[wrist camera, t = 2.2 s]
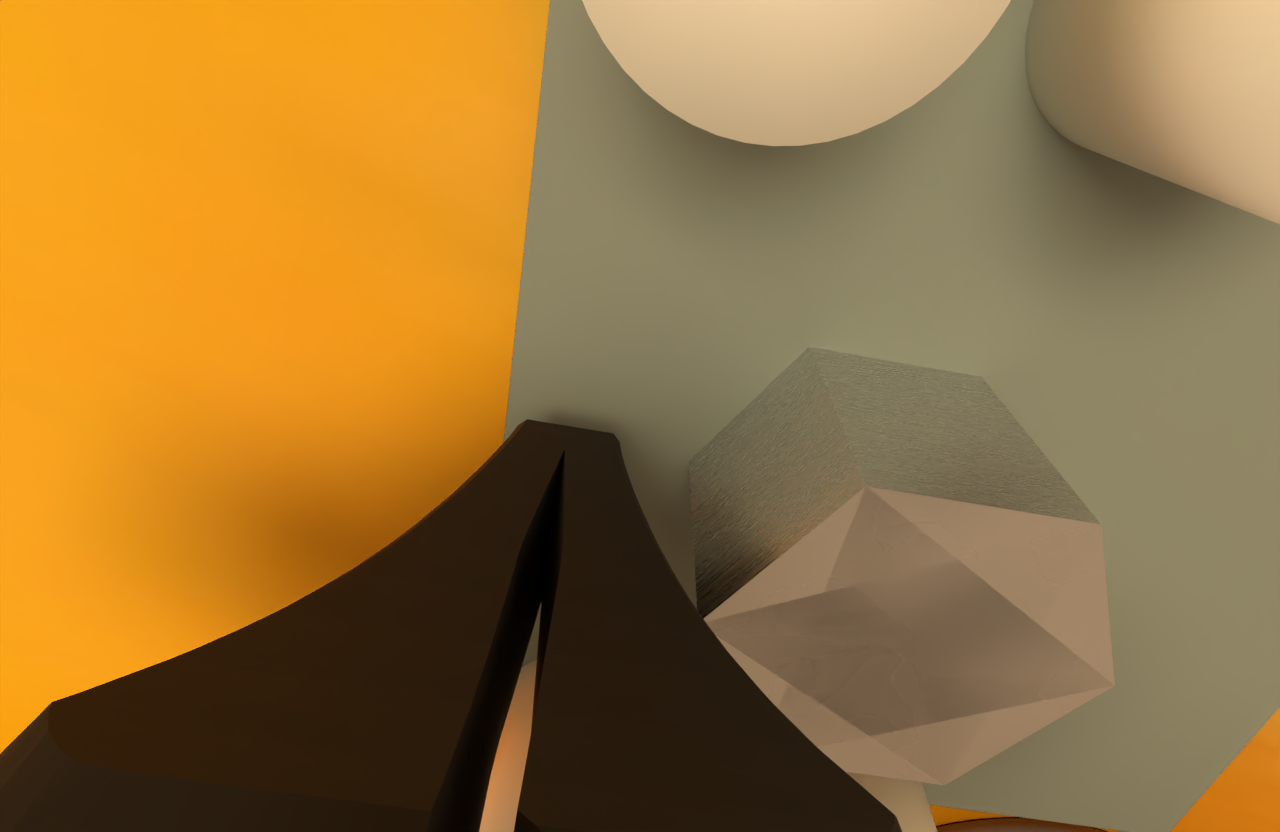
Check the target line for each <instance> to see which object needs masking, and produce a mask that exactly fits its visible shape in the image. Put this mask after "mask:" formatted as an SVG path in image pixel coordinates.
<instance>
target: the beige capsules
mask: <svg viewBox="0 0 1280 832" xmlns="http://www.w3.org/2000/svg"><path fill="white" fill-rule="evenodd" d="M582 1H583V4H584V6H585V9H586V11H587V13H588V16H589V17H590V19H591V21H592V23H593V25H594V26H595V28H596V30H597V32H598V33H599V35H600V37H601V39H602V41H603V42H604V44H605V46H606V47H607V48H608V50H609V51H610V52H611V54H612V55H613V56H614V58H615V59H616V60H617V62H618V63H619V64H620V66H621V67H622V69H623V70H624V71H625V72H626V73H627V74H628V75H629V76H630V77H631V78H632V79H633V80H634V81H635V82H636V83H637V84H638V86H639V87H640V88H641V89H642V90H643V91H644V92H645V93H647V94H648V95H649V96H650V97H652V98H653V99H654V100H655V101H657V102H658V103H659V104H660V105H662V106H663V107H664V108H665V109H667V110H668V111H670V112H672V113H673V114H675V115H677V116H678V117H680V118H682V119H683V120H685V121H687V122H688V123H690V124H692V125H694V126H696V127H699V128H701V129H703V130H706V131H708V132H710V133H713V134H715V135H717V136H721V137H725V138H729V139H732V140H736V141H740V142H744V143H750V144H759V145H767V146H802V145H809V144H815V143H822V142H829V141H832V140H836V139H839V138H843V137H846V136H850V135H853V134H857V133H859V132H862V131H864V130H866V129H869V128H871V127H873V126H876V125H878V124H880V123H883V122H885V121H887V120H888V119H890V118H892V117H894V116H895V115H897V114H899V113H901V112H902V111H904V110H906V109H908V108H909V107H911V106H913V105H914V104H915V103H917V102H918V101H919V100H921V99H922V98H923V97H925V96H926V95H927V94H929V93H930V92H932V91H933V90H934V89H936V88H937V87H938V86H939V85H940V84H942V83H943V82H944V81H945V80H946V79H947V78H948V77H949V76H950V75H951V74H952V73H953V72H954V71H956V70H957V69H958V68H959V67H960V66H961V65H962V64H963V63H964V62H965V61H966V60H967V58H968V57H969V56H970V55H971V54H972V53H973V52H974V50H975V49H976V48H977V47H978V46H979V45H980V44H981V42H982V41H983V40H984V39H985V38H986V37H987V35H988V34H989V32H990V31H991V29H992V28H993V27H994V25H995V24H996V22H997V21H998V19H999V18H1000V17H1001V15H1002V14H1003V12H1004V11H1005V9H1006V8H1007V7H1008V5H1009V3H1010V1H1011V0H582ZM1025 60H1026V71H1027V77H1028V83H1029V86H1030V89H1031V92H1032V95H1033V98H1034V101H1035V102H1036V104H1037V106H1038V108H1039V110H1040V112H1041V114H1042V115H1043V116H1044V118H1045V119H1046V120H1047V122H1048V123H1049V124H1050V125H1051V126H1052V127H1053V128H1054V129H1055V130H1056V131H1057V132H1058V133H1059V134H1060V135H1062V136H1063V137H1065V138H1066V139H1068V140H1069V141H1071V142H1073V143H1075V144H1077V145H1079V146H1081V147H1083V148H1086V149H1088V150H1091V151H1093V152H1096V153H1099V154H1101V155H1104V156H1106V157H1109V158H1111V159H1114V160H1116V161H1119V162H1122V163H1124V164H1127V165H1129V166H1132V167H1134V168H1137V169H1139V170H1142V171H1144V172H1147V173H1150V174H1152V175H1155V176H1157V177H1160V178H1162V179H1165V180H1167V181H1170V182H1173V183H1175V184H1178V185H1180V186H1183V187H1185V188H1188V189H1190V190H1193V191H1196V192H1198V193H1201V194H1203V195H1206V196H1208V197H1211V198H1213V199H1216V200H1219V201H1221V202H1224V203H1226V204H1229V205H1231V206H1234V207H1236V208H1239V209H1241V210H1244V211H1247V212H1249V213H1252V214H1254V215H1257V216H1259V217H1262V218H1264V219H1267V220H1270V221H1272V222H1275V223H1277V224H1280V0H1035V1H1034V4H1033V7H1032V10H1031V13H1030V18H1029V23H1028V28H1027V34H1026V46H1025ZM536 663H537V659H536V660H534V661H532V662H530V663H528V664H526V665H525V666H523V667H522V668H521V671H520V674H519V678H518V681H517V684H516V688H515V691H514V694H513V698H512V701H511V704H510V708H509V711H508V714H507V717H506V721H505V724H504V727H503V731H502V734H501V737H500V741H499V745H498V748H497V752H496V756H495V760H494V764H493V768H492V772H491V776H490V781H489V786H488V791H487V796H486V801H485V805H484V810H483V815H482V820H481V825H480V830H479V832H514V827H515V821H516V815H517V809H518V803H519V798H520V792H521V787H522V781H523V776H524V770H525V764H526V759H527V753H528V748H529V742H530V737H531V726H532V714H533V701H534V688H535V676H536ZM846 773H847V774H848V775H850V776H851V777H852V778H853V779H854V780H855V781H856V782H858V783H859V784H860V785H861V786H862V787H863V788H865V789H866V790H867V791H868V792H869V793H870V794H871V795H873V796H874V797H875V798H876V799H877V800H878V801H880V802H881V803H882V804H883V805H884V806H885V807H886V808H888V809H889V810H890V811H891V812H892V813H893V814H895V816H896V817H897V819H898V822H899V825H900V827H901V830H902V832H938V831H937V828H936V825H935V822H934V819H933V816H932V813H931V810H930V807H929V804H928V801H927V798H926V795H925V792H924V788H923V785H922V782H917V781H910V780H903V779H895V778H888V777H881V776H874V775H866V774H859V773H852V772H846Z"/></svg>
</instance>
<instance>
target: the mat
mask: <svg viewBox="0 0 1280 832" xmlns="http://www.w3.org/2000/svg"><path fill="white" fill-rule="evenodd" d="M1034 1H1035V0H1011V1H1010V3H1009V5H1008V7H1007V8H1006V9H1005V11H1004V12H1003V14H1002V15H1001V17H1000V18H999V19H998V21H997V22H996V24H995V25H994V27H993V28H992V29H991V31H990V32H989V34H988V35H987V37H986V38H985V39H984V40H983V41H982V42H981V44H980V45H979V46H978V47H977V48H976V49H975V50H974V52H973V53H972V54H971V55H970V56H969V57H968V58H967V60H966V61H965V62H964V63H963V64H962V65H961V66H960V67H959V68H958V69H957V70H956V71H954V72H953V73H952V74H951V75H950V76H949V77H948V78H947V79H946V80H945V81H944V82H943V83H942V84H940V85H939V86H938V87H937V88H936V89H934V90H933V91H932V92H930V93H929V94H927V95H926V96H925V97H923V98H922V99H921V100H919V101H918V102H917V103H915V104H914V105H913V106H911V107H909V108H908V109H906V110H904V111H902V112H901V113H899V114H897V115H895V116H894V117H892V118H890V119H888V120H887V121H885V122H883V123H880V124H878V125H876V126H873V127H871V128H869V129H866V130H864V131H862V132H859V133H857V134H853V135H850V136H846V137H843V138H839V139H836V140H832V141H829V142H822V143H815V144H809V145H802V146H767V145H759V144H750V143H744V142H740V141H736V140H732V139H729V138H725V137H721V136H717V135H715V134H713V133H710V132H708V131H706V130H703V129H701V128H699V127H696V126H694V125H692V124H690V123H688V122H687V121H685V120H683V119H682V118H680V117H678V116H677V115H675V114H673V113H672V112H670V111H668V110H667V109H665V108H664V107H663V106H662V105H660V104H659V103H658V102H657V101H655V100H654V99H653V98H652V97H650V96H649V95H648V94H647V93H645V92H644V91H643V90H642V89H641V88H640V87H639V86H638V84H637V83H636V82H635V81H634V80H633V79H632V78H631V77H630V76H629V75H628V74H627V73H626V72H625V71H624V70H623V69H622V67H621V66H620V64H619V63H618V62H617V60H616V59H615V58H614V56H613V55H612V54H611V52H610V51H609V50H608V48H607V47H606V46H605V44H604V42H603V41H602V39H601V37H600V35H599V33H598V32H597V30H596V28H595V26H594V25H593V23H592V21H591V19H590V17H589V16H588V13H587V11H586V9H585V6H584V4H583V1H582V0H550V5H549V15H548V24H547V34H546V43H545V53H544V63H543V72H542V82H541V91H540V101H539V110H538V120H537V129H536V139H535V148H534V158H533V167H532V177H531V186H530V196H529V206H528V215H527V225H526V234H525V244H524V253H523V263H522V272H521V282H520V291H519V301H518V310H517V320H516V330H515V339H514V349H513V358H512V368H511V377H510V387H509V396H508V406H507V415H506V425H505V434H504V442H505V441H506V440H507V438H508V437H509V436H510V435H511V434H512V432H513V431H514V430H515V428H516V427H517V426H518V425H519V424H520V423H522V422H524V421H525V420H527V419H529V420H535V421H541V422H547V423H553V424H559V425H565V426H571V427H577V428H583V429H590V430H596V431H602V432H608V433H613V434H614V435H615V436H616V438H617V439H618V440H619V442H620V448H621V452H622V456H623V460H624V464H625V467H626V470H627V473H628V476H629V479H630V481H631V484H632V487H633V490H634V492H635V495H636V497H637V500H638V502H639V504H640V506H641V509H642V511H643V513H644V515H645V518H646V520H647V522H648V524H649V526H650V529H651V531H652V533H653V535H654V537H655V539H656V541H657V543H658V545H659V547H660V549H661V550H662V552H663V554H664V556H665V558H666V560H667V561H668V563H669V565H670V567H671V569H672V570H673V572H674V574H675V576H676V577H677V579H678V581H679V582H680V584H681V586H682V587H683V589H684V590H685V592H686V594H687V595H688V597H689V598H690V600H691V601H692V603H693V604H694V606H695V607H696V609H697V601H696V583H695V566H694V548H693V531H692V513H691V496H690V479H689V460H690V459H691V458H692V457H693V456H694V455H695V454H696V453H697V452H699V451H700V450H701V449H702V448H703V447H704V446H705V445H706V444H707V443H708V442H709V441H710V440H711V439H712V438H713V437H714V436H715V435H716V434H717V433H719V432H720V431H721V430H722V429H723V428H724V427H725V426H726V425H727V424H728V423H729V422H730V421H731V420H732V419H733V418H734V417H735V416H736V415H738V414H739V413H740V412H741V411H742V410H743V409H744V408H745V407H746V406H747V405H748V404H749V403H750V402H751V401H752V400H753V399H754V398H755V397H757V396H758V395H759V394H760V393H761V392H762V391H763V390H764V389H765V388H766V387H767V386H768V385H769V384H770V383H771V382H772V381H773V380H774V379H776V378H777V377H778V376H779V375H780V374H781V373H782V372H783V371H784V370H785V369H786V368H787V367H788V366H789V365H790V364H791V363H792V362H793V361H794V360H796V359H797V358H798V357H799V356H800V355H801V354H802V353H803V352H804V351H805V350H806V349H807V348H808V347H814V348H820V349H826V350H832V351H837V352H843V353H849V354H854V355H860V356H866V357H871V358H877V359H883V360H889V361H894V362H900V363H906V364H911V365H917V366H923V367H928V368H934V369H940V370H946V371H951V372H957V373H963V374H968V375H974V376H980V377H982V378H983V379H984V381H985V382H986V383H987V384H988V386H989V387H990V388H991V389H992V390H993V392H994V393H995V394H996V395H997V397H998V398H999V399H1000V400H1001V402H1002V403H1003V404H1004V405H1005V406H1006V408H1007V409H1008V410H1009V411H1010V413H1011V414H1012V415H1013V416H1014V418H1015V419H1016V420H1017V421H1018V422H1019V424H1020V425H1021V426H1022V427H1023V429H1024V430H1025V431H1026V432H1027V434H1028V435H1029V436H1030V437H1031V438H1032V440H1033V441H1034V442H1035V443H1036V445H1037V446H1038V447H1039V448H1040V450H1041V451H1042V452H1043V453H1044V454H1045V456H1046V457H1047V458H1048V459H1049V461H1050V462H1051V463H1052V464H1053V466H1054V467H1055V468H1056V469H1057V471H1058V472H1059V473H1060V474H1061V475H1062V477H1063V478H1064V479H1065V480H1066V482H1067V483H1068V484H1069V485H1070V487H1071V488H1072V489H1073V490H1074V491H1075V493H1076V494H1077V495H1078V496H1079V498H1080V499H1081V500H1082V501H1083V503H1084V504H1085V505H1086V506H1087V507H1088V509H1089V510H1090V511H1091V512H1092V514H1093V515H1094V516H1095V517H1096V519H1097V520H1098V521H1099V522H1100V523H1101V526H1102V538H1103V550H1104V562H1105V574H1106V586H1107V597H1108V609H1109V621H1110V633H1111V645H1112V657H1113V669H1114V681H1115V686H1113V687H1112V688H1110V689H1108V690H1107V691H1105V692H1103V693H1101V694H1100V695H1098V696H1096V697H1095V698H1093V699H1091V700H1090V701H1088V702H1086V703H1084V704H1083V705H1081V706H1079V707H1078V708H1076V709H1074V710H1072V711H1071V712H1069V713H1067V714H1066V715H1064V716H1062V717H1060V718H1059V719H1057V720H1055V721H1054V722H1052V723H1050V724H1048V725H1047V726H1045V727H1043V728H1042V729H1040V730H1038V731H1036V732H1035V733H1033V734H1031V735H1030V736H1028V737H1026V738H1024V739H1023V740H1021V741H1019V742H1018V743H1016V744H1014V745H1012V746H1011V747H1009V748H1007V749H1006V750H1004V751H1002V752H1001V753H999V754H997V755H995V756H994V757H992V758H990V759H989V760H987V761H985V762H983V763H982V764H980V765H978V766H977V767H975V768H973V769H971V770H970V771H968V772H966V773H965V774H963V775H961V776H959V777H958V778H956V779H954V780H953V781H951V782H949V783H947V784H946V785H939V784H932V783H924V782H922V785H923V788H924V792H925V795H926V798H927V801H928V804H929V805H935V806H942V807H949V808H957V809H964V810H972V811H979V812H986V813H994V814H1001V815H1008V816H1016V817H1023V818H1030V819H1038V820H1045V821H1052V822H1060V823H1067V824H1075V825H1082V826H1089V827H1097V828H1104V829H1111V830H1119V831H1126V832H1170V831H1171V830H1172V829H1173V828H1174V827H1175V825H1176V824H1177V823H1178V822H1179V821H1180V820H1181V819H1182V817H1183V816H1184V815H1185V814H1186V813H1187V812H1188V811H1189V810H1190V808H1191V807H1192V806H1193V805H1194V804H1195V803H1196V802H1197V800H1198V799H1199V798H1200V797H1201V796H1202V795H1203V794H1204V792H1205V791H1206V790H1207V789H1208V788H1209V787H1210V786H1211V785H1212V783H1213V782H1214V781H1215V780H1216V779H1217V778H1218V777H1219V775H1220V774H1221V773H1222V772H1223V771H1224V770H1225V769H1226V767H1227V766H1228V765H1229V764H1230V763H1231V762H1232V761H1233V760H1234V758H1235V757H1236V756H1237V755H1238V754H1239V753H1240V752H1241V750H1242V749H1243V748H1244V747H1245V746H1246V745H1247V744H1248V742H1249V741H1250V740H1251V739H1252V738H1253V737H1254V736H1255V735H1256V733H1257V732H1258V731H1259V730H1260V729H1261V728H1262V727H1263V725H1264V724H1265V723H1266V722H1267V721H1268V720H1269V719H1270V718H1271V716H1272V715H1273V714H1274V713H1275V712H1276V711H1277V710H1278V708H1279V707H1280V224H1277V223H1275V222H1272V221H1270V220H1267V219H1264V218H1262V217H1259V216H1257V215H1254V214H1252V213H1249V212H1247V211H1244V210H1241V209H1239V208H1236V207H1234V206H1231V205H1229V204H1226V203H1224V202H1221V201H1219V200H1216V199H1213V198H1211V197H1208V196H1206V195H1203V194H1201V193H1198V192H1196V191H1193V190H1190V189H1188V188H1185V187H1183V186H1180V185H1178V184H1175V183H1173V182H1170V181H1167V180H1165V179H1162V178H1160V177H1157V176H1155V175H1152V174H1150V173H1147V172H1144V171H1142V170H1139V169H1137V168H1134V167H1132V166H1129V165H1127V164H1124V163H1122V162H1119V161H1116V160H1114V159H1111V158H1109V157H1106V156H1104V155H1101V154H1099V153H1096V152H1093V151H1091V150H1088V149H1086V148H1083V147H1081V146H1079V145H1077V144H1075V143H1073V142H1071V141H1069V140H1068V139H1066V138H1065V137H1063V136H1062V135H1060V134H1059V133H1058V132H1057V131H1056V130H1055V129H1054V128H1053V127H1052V126H1051V125H1050V124H1049V123H1048V122H1047V120H1046V119H1045V118H1044V116H1043V115H1042V114H1041V112H1040V110H1039V108H1038V106H1037V104H1036V102H1035V101H1034V98H1033V95H1032V92H1031V89H1030V86H1029V83H1028V77H1027V71H1026V60H1025V46H1026V34H1027V28H1028V23H1029V18H1030V13H1031V10H1032V7H1033V4H1034ZM540 613H541V605H540V608H539V611H538V615H537V618H536V621H535V625H534V628H533V631H532V635H531V638H530V641H529V645H528V648H527V651H526V655H525V658H524V661H523V665H522V667H523V666H525V665H526V664H528V663H530V662H532V661H534V660H536V659H537V650H538V638H539V625H540Z"/></svg>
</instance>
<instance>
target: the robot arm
mask: <svg viewBox="0 0 1280 832" xmlns="http://www.w3.org/2000/svg"><path fill="white" fill-rule="evenodd" d="M540 605H541V613H540V625H539V638H538V650H537V663H536V676H535V688H534V701H533V714H532V726H531V737H530V742H529V748H528V753H527V759H526V764H525V770H524V776H523V781H522V787H521V792H520V798H519V803H518V809H517V815H516V821H515V827H514V832H902V830H901V827H900V825H899V822H898V819H897V817H896V816H895V814H893V813H892V812H891V811H890V810H889V809H888V808H886V807H885V806H884V805H883V804H882V803H881V802H880V801H878V800H877V799H876V798H875V797H874V796H873V795H871V794H870V793H869V792H868V791H867V790H866V789H865V788H863V787H862V786H861V785H860V784H859V783H858V782H856V781H855V780H854V779H853V778H852V777H851V776H850V775H848V774H847V773H846V772H845V771H844V770H843V769H841V768H840V767H839V766H838V765H837V764H836V763H835V762H833V761H832V760H831V759H830V758H829V757H828V756H826V755H825V754H824V753H823V752H822V751H821V750H820V749H819V748H817V747H816V746H815V745H814V744H813V743H812V742H811V741H810V740H809V739H808V738H807V737H806V736H805V735H804V734H803V733H802V732H801V731H800V730H799V729H798V728H797V727H796V726H795V725H794V724H793V723H792V722H791V721H790V720H789V719H788V718H787V717H786V716H785V715H784V714H783V713H782V712H781V711H780V710H779V709H778V708H777V707H776V706H775V705H774V704H773V703H772V702H771V701H770V700H769V699H768V697H767V696H766V695H765V694H764V693H763V692H762V691H761V690H760V688H759V687H758V686H757V685H756V684H755V683H754V681H753V680H752V679H751V678H750V677H749V676H748V674H747V673H746V672H745V671H744V670H743V669H742V668H741V666H740V665H739V664H738V663H737V662H736V661H735V659H734V658H733V657H732V656H731V655H730V654H729V652H728V651H727V650H726V649H725V647H724V646H723V645H722V643H721V642H720V641H719V639H718V638H717V637H716V635H715V634H714V633H713V631H712V630H711V629H710V627H709V626H708V625H707V623H706V622H705V620H704V619H703V617H702V616H701V614H700V613H699V612H698V610H697V609H696V607H695V606H694V604H693V603H692V601H691V600H690V598H689V597H688V595H687V594H686V592H685V590H684V589H683V587H682V586H681V584H680V582H679V581H678V579H677V577H676V576H675V574H674V572H673V570H672V569H671V567H670V565H669V563H668V561H667V560H666V558H665V556H664V554H663V552H662V550H661V549H660V547H659V545H658V543H657V541H656V539H655V537H654V535H653V533H652V531H651V529H650V526H649V524H648V522H647V520H646V518H645V515H644V513H643V511H642V509H641V506H640V504H639V502H638V500H637V497H636V495H635V492H634V490H633V487H632V484H631V481H630V479H629V476H628V473H627V470H626V467H625V464H624V460H623V456H622V452H621V448H620V442H619V440H618V439H617V438H616V436H615V435H614V434H613V433H608V432H602V431H596V430H590V429H583V428H577V427H571V426H565V425H559V424H553V423H547V422H541V421H535V420H529V419H527V420H525V421H524V422H522V423H520V424H519V425H518V426H517V427H516V428H515V430H514V431H513V432H512V434H511V435H510V436H509V437H508V438H507V440H506V441H505V442H504V443H503V444H502V445H501V446H500V448H499V449H498V450H497V451H496V452H495V453H494V454H493V455H492V456H491V457H490V458H489V459H488V460H487V461H486V462H485V463H484V464H483V465H482V466H481V467H480V468H479V469H478V470H477V471H476V472H475V473H474V474H473V475H472V476H471V477H470V478H469V479H468V480H467V481H466V482H465V483H464V484H463V485H461V486H460V487H459V488H458V489H457V490H456V491H455V492H454V493H453V494H452V495H451V496H450V497H448V498H447V499H446V500H445V501H444V502H442V503H441V504H440V505H439V506H438V507H436V508H435V509H434V510H433V511H431V512H430V513H429V514H428V515H427V516H425V517H424V518H423V519H422V520H421V521H419V522H418V523H417V524H416V525H414V526H413V527H412V528H411V529H409V530H408V531H407V532H405V533H404V534H403V535H401V536H400V537H399V538H397V539H396V540H395V541H393V542H392V543H390V544H389V545H388V546H386V547H385V548H383V549H382V550H380V551H379V552H377V553H376V554H374V555H373V556H371V557H370V558H368V559H367V560H365V561H364V562H362V563H361V564H359V565H358V566H356V567H355V568H353V569H352V570H350V571H348V572H347V573H345V574H343V575H342V576H340V577H338V578H337V579H335V580H333V581H331V582H330V583H328V584H326V585H325V586H323V587H321V588H320V589H318V590H316V591H314V592H312V593H311V594H309V595H307V596H305V597H303V598H302V599H300V600H298V601H296V602H294V603H293V604H291V605H289V606H287V607H285V608H283V609H281V610H279V611H277V612H275V613H273V614H271V615H269V616H267V617H265V618H263V619H261V620H259V621H256V622H254V623H252V624H250V625H248V626H246V627H244V628H242V629H240V630H237V631H235V632H233V633H231V634H228V635H226V636H224V637H221V638H219V639H217V640H215V641H212V642H210V643H208V644H206V645H203V646H201V647H199V648H196V649H194V650H191V651H189V652H187V653H184V654H182V655H179V656H177V657H174V658H172V659H169V660H167V661H164V662H161V663H159V664H156V665H153V666H151V667H148V668H145V669H143V670H140V671H137V672H134V673H132V674H129V675H126V676H124V677H121V678H118V679H116V680H113V681H110V682H107V683H105V684H102V685H99V686H97V687H94V688H91V689H89V690H86V691H83V692H81V693H78V694H75V695H72V696H69V697H66V698H63V699H60V700H57V701H54V702H52V703H51V704H50V705H49V706H48V707H47V708H46V709H45V710H44V711H43V712H42V713H41V714H40V715H39V716H38V717H37V718H36V719H35V720H34V721H33V722H32V723H31V724H30V725H29V726H28V727H27V728H26V729H25V730H24V731H23V732H22V733H21V734H20V735H19V736H18V737H17V738H16V739H15V740H14V741H13V742H12V743H11V744H10V745H9V746H8V747H7V748H6V749H5V750H4V751H3V752H2V753H1V754H0V832H479V830H480V825H481V820H482V815H483V810H484V805H485V801H486V796H487V791H488V786H489V781H490V776H491V772H492V768H493V764H494V760H495V756H496V752H497V748H498V745H499V741H500V737H501V734H502V731H503V727H504V724H505V721H506V717H507V714H508V711H509V708H510V704H511V701H512V698H513V694H514V691H515V688H516V684H517V681H518V678H519V674H520V671H521V668H522V665H523V661H524V658H525V655H526V651H527V648H528V645H529V641H530V638H531V635H532V631H533V628H534V625H535V621H536V618H537V615H538V611H539V608H540Z"/></svg>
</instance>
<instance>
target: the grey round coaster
mask: <svg viewBox="0 0 1280 832" xmlns="http://www.w3.org/2000/svg"><path fill="white" fill-rule="evenodd" d="M936 828H937V831H938V832H1104V831H1101V830H1098V829H1094V828H1091V827H1087V826H1082V825H1075V824H1067V823H1060V822H1052V821H1045V820H1038V819H1026V818H1003V819H988V820H976V821H969V822H962V823H955V824H949V825H945V826H940V827H936Z"/></svg>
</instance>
